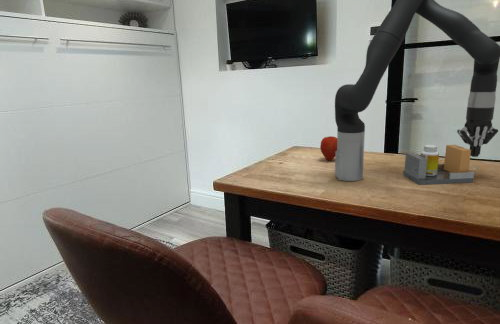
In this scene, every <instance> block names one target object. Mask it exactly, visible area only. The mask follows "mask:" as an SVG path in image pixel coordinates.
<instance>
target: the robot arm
mask: <svg viewBox="0 0 500 324" xmlns="http://www.w3.org/2000/svg"><path fill="white" fill-rule="evenodd" d="M391 7H392V8H391V9H390V11H388V13H387V15H386V16H385V18H384V19H383V21H382V22H381V24H379V27H378V28H377V30H376V32H375V33H374V34H373V37H372V38H371V40H370V42H369V44H368V46H367V49H366V59H365V66H364V68H363V71H362V73H361V74H360V75H359V78H358V79H357V80H356V83H354V84H352V83H350V84H342V85H341V86H340V87H338V89H337V91H336V93H335V95H334V120H335V124H336V127H337V128H336V129H337V136H336V138H337V151H336V152H335V157H334V163H335V164H334V176H335V178H336V179H337V180H338V181H345V182H358V181H361V180H363V178H364V158H365V156H364V155H365V131H366V125H365V122H364V120H362V119H361V118H360V116H359V113H361V112H364V111H365V110H366V109H367V108H368V107H369V105H370V103H371V102H372V100H373V97H374V95H375V93H376V91H377V89H378V86H379V85H380V82H381V80H382V78H383V76H384V74H385V73H386V71H387V69H388V67H389V66H390V63H391V62H392V60H393V58H394V57H395V56H396V53H397V52H398V50H399V48H400V46H401V45H402V43H403V41H404V39H405V37H406V36H407V33H408V30H409V28H410V26H411V23H412V21H413V18H414V17H415V14H417V15H419V16H421V17H422V18H424V19H425V20H426V21H428V22H430V23H432V25H434V26H436V28H438V29H439V30H441V31H442V32H443V33H445V35H446V36H447V37H448V38H449V39H451V40H452V41H453V42H454V43H455V44H456V45H457V46H459V47H461V48H462V49H463V50H464V51H465V52H466V53H468V54H469V56H470V57H471V58H472V59H473V70H472V71H473V73H472V76H471V81H470V89H469V95H468V99H467V107H466V115H465V120H466V122H465V123H464V127H462V128H461V129H457V130H456V133H457V134H458V135H459V137H460V138H461V140H462V141H463V143H465V144H467V145H469V150H471V155H470V157H473V158H478V157H479V156H480V155H481V149H482V146H483V145H487V144H488V143H489V142H490V141H491V140H492V139H493V138H494V136H496V135H497V134H498V132H499V130H498V128H495V127H494V126H493V123H492V121H493V120H494V113H495V107H496V105H495V104H496V101H497V99H496V93H497V84H498V83H497V82H498V70H499V69H498V68H499V64H500V44H498V43H497V42H496V41H495V40H493V39H492V38H491V37H490V36H488V35H487V34H485V33H484V32H482V30H481V29H480V27H478V26H477V25H476V24H475V23H473V21H472V20H470V19H469V18H468V17H466V16H465V15H464V14H462V13H460V12H459V11H455V10H453V9H449V8H447V7H445V6H443V5H441V4H440V3H438V2H437V1H436V0H395V2H394V4H393V6H391Z"/></svg>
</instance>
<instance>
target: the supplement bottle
mask: <svg viewBox="0 0 500 324" xmlns="http://www.w3.org/2000/svg"><path fill="white" fill-rule="evenodd" d="M420 156H422V157H424V158H426V159H427V168H426V176H436V175H437V171H438V164H439V160H440V157H439V156H440V153H439V151H438V146H437V145H434V144H425V145H424V146H423V150H422V151H420Z"/></svg>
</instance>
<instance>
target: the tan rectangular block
mask: <svg viewBox="0 0 500 324" xmlns="http://www.w3.org/2000/svg"><path fill="white" fill-rule="evenodd" d="M470 155H471V150H470V148H469V149H468V148H466V147H464V146H460V145H457V144H446V145H445V155H444V162H443V163H444V170H446V171H448V172H450V173H453V172H470V171H469V169H470V164H471V163H470V160H471V156H470Z"/></svg>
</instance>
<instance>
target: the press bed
mask: <svg viewBox="0 0 500 324" xmlns="http://www.w3.org/2000/svg"><path fill="white" fill-rule="evenodd" d="M404 160H405V161H404V170H403V171H402V175H403V176H404V177H406V178H408V179H409V180H411V181H413V182H414V183H415V184H417V185H418V186H419V185H420V186H423V185H441V184H442V185H443V184H446V185H447V184H469V183H474V178H475V172H474V171H468V172H453V173H450V172H448V171H446V170H444V163H445V162H443V163H438V171H437V175H436V176H426V168H427V159H426V158H424V157H422V156H421V154H420V155H419V154H418V153H416V152H413V151H412V152H405V159H404Z"/></svg>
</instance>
